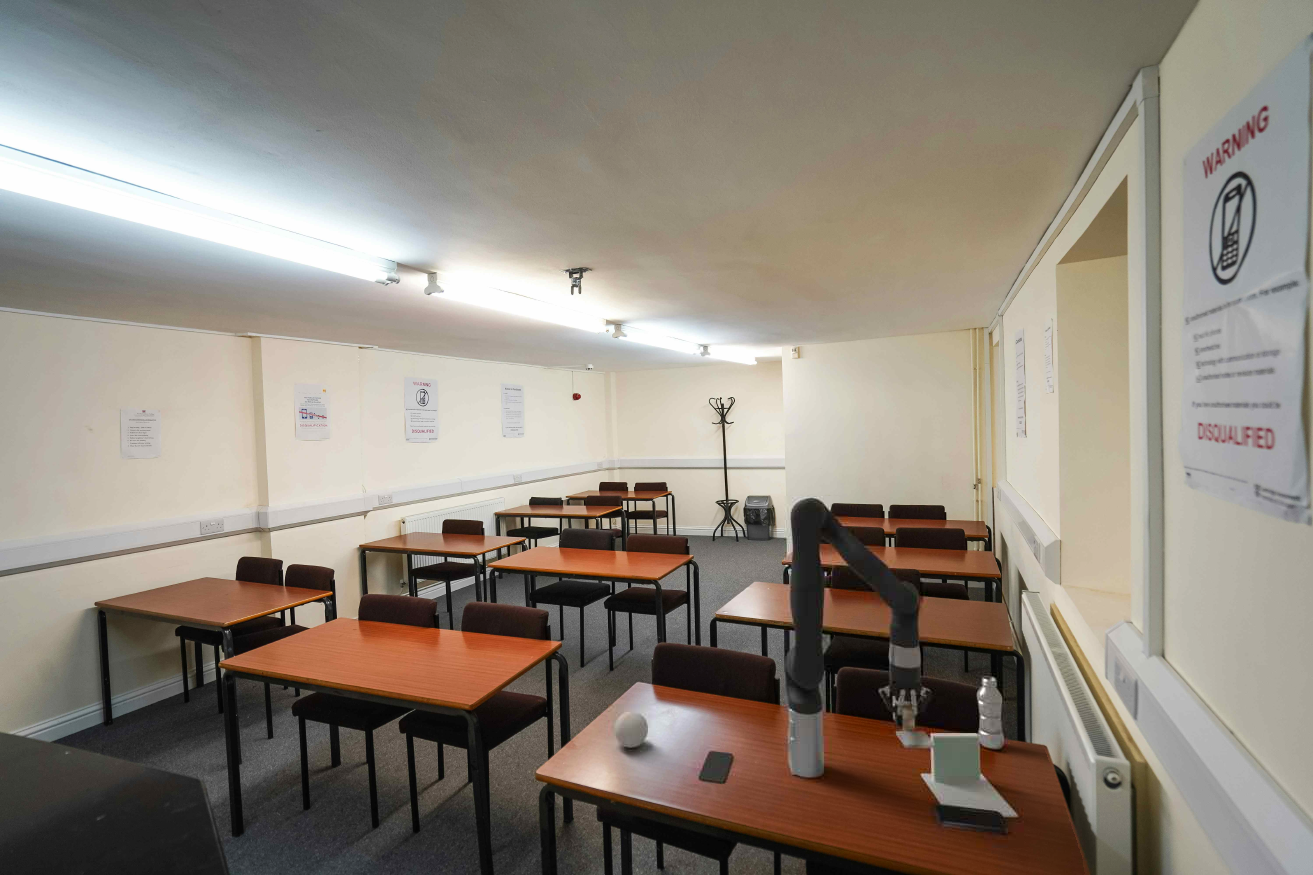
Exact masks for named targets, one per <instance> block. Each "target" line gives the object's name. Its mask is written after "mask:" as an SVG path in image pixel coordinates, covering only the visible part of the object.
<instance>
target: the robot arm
mask: <svg viewBox="0 0 1313 875" xmlns="http://www.w3.org/2000/svg"><path fill="white" fill-rule="evenodd" d="M791 508H792V509H791V511H790V529H791V542H792V553H791V554H792V555H791V556H792V557H791V565H790V566H791V567H790V568H791V569H790V581H789V582H790V583H789V584H790V585H789V602H790V604H789V605H790V612H791V619H792V622H793V623H792V624H793V628H794V629H793V630H794V634H795V635H794V637H795V638H794V639H795V640H794V647H792V648H791V649H789V651H787V654H786V656H785V662H784V672H785V673H784V674H785V675H784V676H785V678H784V679H785V690H786V691H785V692H786V698H787V705H788V707H787V708H788V712H787V713H788V729H787V763H788V766H789V769H790V772H791V775H793V776H795V775H796V776H799V777H802V778H808V779H809V778H817V777H821V776H822V775H823V774H824V771H825V760H824V731H823V730H824V729H823V728H824V727H823V726H824V725H823V719H824V718H823V699H822V695H821V691H820V687H819V685H820V684H821V682H822V681H823V679H824V675H825V662H824V660H825V659H824V648H823V628H824V627H823V626H824V611H825V610H824V608H825V607H824V606H825V590H826V589H825V585H826V584H825V576H824V570H823V566H822V565H823V564H822V560H821V553H820V552H821V551H820V550H821V549H820V548H821V547H820V545H821V538H822V539H823V540H824V541H826V542H827V543H828V544H829V545H830V546H831V547H832V548H833V549H834V550H835V551H836V552H837V554H838V555H839V556H840V557H841V559H842V560H843V561H844V562H845V563H846V565H847V566H848V568H851V570H852V571H853V572H854V573H855V574H856V575H858V577H859V578H861V579H862V580H863V581H865V582H866V584H868V585H869V586H871V588H872V589H873V590H874V591H875V593H876V594H877V595H878V596H879V598H880V599H881V601H883V602H884V603H885V604H886V605H887V606H888V607H889V608H890V609H891V621H890V625H889V650H888V660H889V662H888V664H889V665H888V667H889V668H888V669H889V671H888V672H889V680H888V683H887V686H885V687H879V688H878V689H877V690H878V693H879V694H880V696H881V698H882V699H883V702H884V704H885V706H886V707H887V709H888V710H889V711H890V713H892V714H893V712H894V713H895V720H894V723H895V726H896V727H898V729H899V730H902V707H903V705H904V701H906V702H907V703H908V704H909V705H910V706H911V707H912V709H913V710H914V720H915V728H916V727H917V714H920V713H921V714H923V713H924V712H925V711H926V708H927V706H928V704H929V702H930V701H931V699H932V697H933V692H932V691H931V690H930V689H929V688H928V687H924V685H923V684H922V682H921V681H922V678H921V674H922V672H921V670H922V669H921V651H920V650H921V649H920V633H919V617H920V616H919V612H920V593H919V591H918V588H917V587H915V585H914V584H913V583H911V582H908V581H900V580H899V579H898V578H897V577H896V576H895V575H894V574H893V573H892V571H891V570H892V569H891V568H890V567H889V566H888V565H887V563H885V562H884V561H883V560H882V559H881V558H879V557H878V556H877V555H876V554H875V553H874V552H872V551H871V550H870V549H869V548H868V547H866V546H865V545H864V544H863V543H862V542H861V541H860V540H858V539H857V538H856V537H855V536H854V535H853V534H852V533H851V532H850V531H849V530H847V528H845V526H844V525H843V524H842V523H841V522H840V521H839V520H838V519H837V518H836V516H835V515H834V514H833V513H832V512H831V511H830V509H829V508H828V507H827V505H826V504H825V503H824V502H823V501H821V500H820V499H818V498H816V497H807V498H805V499H804V498H803V499H801V500H799V501H797V502H796V503H795V504H794V505H793V506H792V507H791ZM890 692H891V694H893V695H892V696H894V702H895V703H894V706H893V703H892V702H891V700H890V698H889V697H890V696H891V695H890ZM919 695H920V697H919V698H918V701H917V697H918V696H919Z"/></svg>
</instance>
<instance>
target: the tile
mask: <svg viewBox="0 0 1313 875" xmlns="http://www.w3.org/2000/svg"><path fill="white" fill-rule="evenodd" d="M930 739H931V740H932V742H933V743H934V744H935V748H930V764H931V765H930V766H931V767H930V768H931V773H930V774H932V779H933V781H934V782H981V780H980V774H981V747H980V746H981V745H980V744H981V743H980V741H979V735H978V733H975V732H973V733H972V732H970V733H969V732H968V733H967V732H965V733H964V732H962V733H961V732H960V733H957V732H956V733H955V732H953V733H951V732H949V733H948V732H947V733H944V732H942V733H941V732H940V733H936V732H935V733H930Z"/></svg>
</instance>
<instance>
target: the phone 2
mask: <svg viewBox="0 0 1313 875" xmlns="http://www.w3.org/2000/svg"><path fill="white" fill-rule="evenodd" d="M933 810H934V814H935V817H936V820H937V823H938V824H939V825H940V826H942V827H945V828H953V829H960V830H961V829H962V830H968V831H976V832H982V833H983V832H984V833H991V834H999V835H1009V832H1010V831H1009V830H1010V828H1009V826H1008V825H1007V822H1006V820H1005V817H1003V816H1002V814H1001V813H1000V812H998V811H992V810H984V809H976V808H968V807H960V806H952V805H944V804H941V803H934V804H933Z"/></svg>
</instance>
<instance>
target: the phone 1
mask: <svg viewBox="0 0 1313 875" xmlns="http://www.w3.org/2000/svg"><path fill="white" fill-rule="evenodd" d="M733 758H734V755H733V754H732V753H731V752H723V751H715V750H710V751H708V752H707V755H706V757H705V759H704V762H703V765H702V767H701V770H700V773H699V775H698V780H700V781H702V782H706V783H707V782H708V783H709V782H710V783H716V784H724V783H726V780H727V778H728V774H729V771H730V768H731V765H732V762H733Z"/></svg>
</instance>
